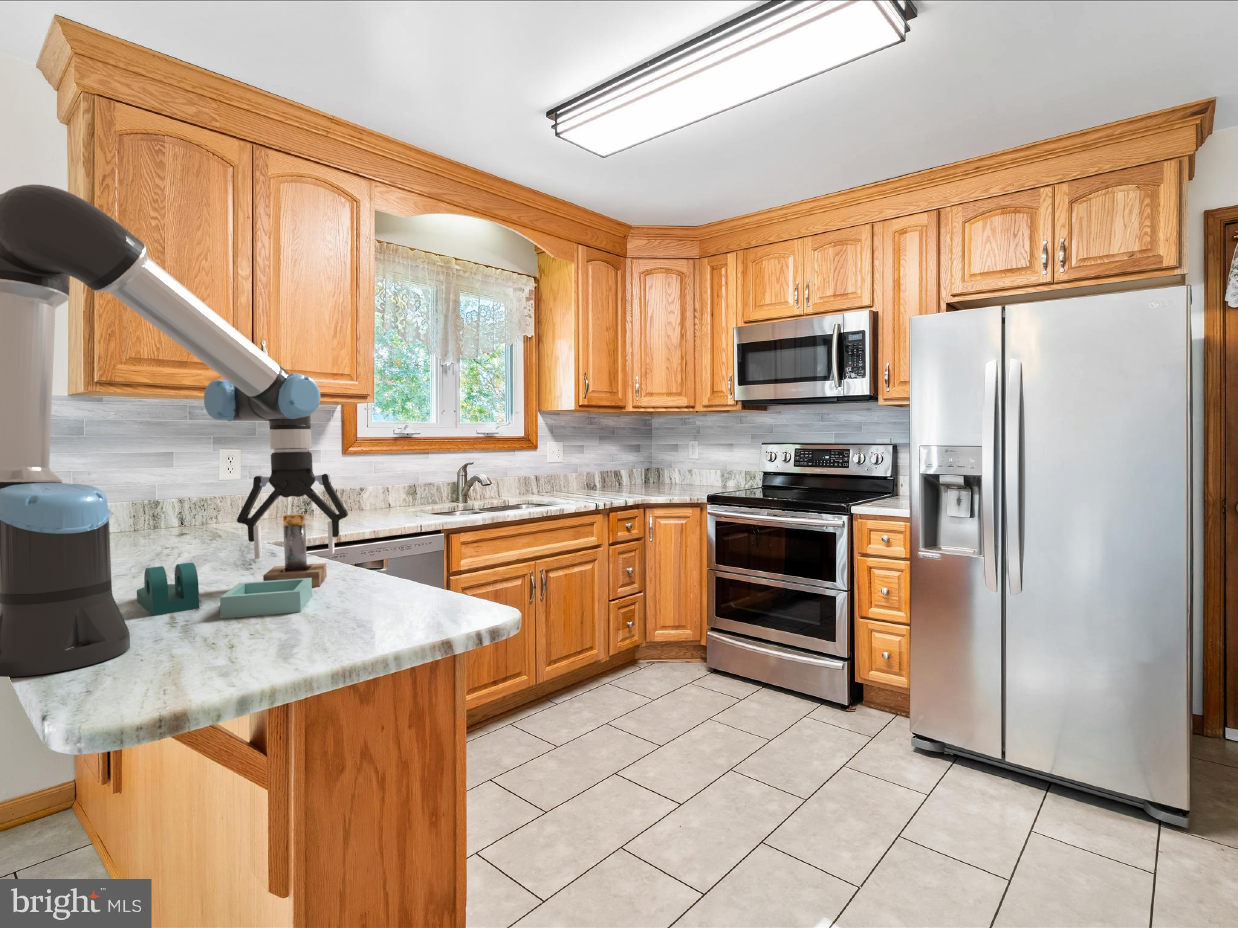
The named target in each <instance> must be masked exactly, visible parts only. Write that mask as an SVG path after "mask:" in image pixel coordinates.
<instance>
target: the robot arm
mask: <svg viewBox="0 0 1238 928" xmlns="http://www.w3.org/2000/svg"><path fill="white" fill-rule="evenodd" d="M146 245H147V244H145V243H143V242H142V241H141V240H140V239H139V238H138V237H137V236H135V235H134V234H132V233H131V232H130V231H129V230H128V229H127V228H126V227H124V226H123V225H122V224H121V223H119V222H118V221H117V220H115V219H114V218H113V217H111V216H110V215H108V214H107V213H105V212H104V211H103V210H101V209H100V208H98V207H97V206H95V205H94V204H91V203H90V202H89V201H86V200H85V199H83V198H81V197H79V196H77V195H75V194H74V193H72V192H69V191H67V190H64V189H62V188H58V187H54V186H52V185H46V184H24V185H19V186H16V187H13V188H11V189H8V190H6V191H5V192H3V193H0V677H3V678H4V677H5V678H6V677H7V678H13V677H16V678H17V677H27V676H37V675H39V676H40V675H45V674H52V673H57V672H58V673H59V672H63V671H64V672H65V671H69V670H73V669H77V668H78V669H79V668H81V667H87V666H90V665H94V664H97V663H101V662H104V661H107V660H110V659H113V658H116V657H118V656H121V655H122V654H124V653H126V652H127V651H128V650H130V649H131V635H130V629H129V627H128V625H127V624H126V621H125V619H124V617H123V614H122V612H121V611H120V608H119V606H118V604H117V602H116V600H115V598H114V596H113V595H114V594H113V587H112V585H113V584H112V564H111V563H112V562H111V557H112V556H111V538H110V537H111V534H110V518H111V514H110V513H111V511H110V508H109V506H108V500H107V495H106V493H105V492H104V490H102V489H100V488H99V487H97V486H93V485H88V484H81V483H65V482H63V479H62V478H61V477H59V476H58V475H57V474H56V473H54V471H52V470H51V468H50V461H51V460H50V455H51V454H50V453H51V431H52V429H51V428H52V427H51V426H52V407H53V406H52V404H53V401H52V399H53V379H54V377H53V376H54V375H53V374H54V352H55V328H56V327H55V326H56V310H57V308H58V307H61V305H63V304H65V303H67V302H68V301H69V300H70V299H69V298H70V286H71V285H70V280H71V279H70V278H71V277H72V278H74V279H76V280H78V281H79V282H81V283H82V284H84V285H85V286H87V287H88V288H90V289H91V290H92V291H94V292H96V293H109V294H110V295H111V296H113V297H114V298H116V299H117V300H118V301H119V302H120V303H122V304H124V305H125V306H126V307H127V308H129V309H130V310H132V311H133V312H134V313H136V314H137V315H138V316H139V317H141V318H142V319H143V320H145V321H147V322H148V323H149V324H151V325H152V326H153V327H155V328H156V329H157V330H159V331H160V332H161V333H162V334H164V335H165V336H167V337H168V338H169V339H171V340H172V341H174V342H175V343H176V344H177V345H179V346H180V347H182V348H183V349H184V350H185V351H187V352H188V353H190V354H191V355H192V356H193V357H195V358H196V359H198V360H199V361H200V362H201V363H202V364H205V365H206V366H207V367H209V368H210V369H211V370H213V371H214V372H215V373H216V374H218V375H219V376H220V377H222V378H223V379H213V380H212V381H211V382H209V383H208V385H207V386H206V388H205V389H204V390H205V391H204V394H203V404H204V409H205V411H206V413H207V414H208V416H209V417H210V418H212V419H213V420H216V421H227V422H232V421H233V422H236V421H238V422H239V421H240V422H241V421H242V422H245V421H246V422H255V421H256V422H262V421H264V422H269V424H268V425H269V443H270V445H269V448H270V450H273V452H271V454H270V466H271V467H270V468H271V469H270V471H271V472H270V476H262V475H255V476H254V477H253V481H252V483H253V484H252V489H251V490H250V493H249V495H248V496H247V498H246V500H245V502H244V504H243V506H242V508H241V510H240V512H239V515H238V516H237V517H236V522H237V523H238V524H242V525H246V526H247V539H248V542H249V543H253V547H254V559H255V560H257V559H258V560H259V559H261V558H262V557H263V545H262V541H263V540H262V525H261V524H258V522H259V521H260V520H261V518H262V517H263V516H264V515H265V513H266V512H267V511H268V510H269V509H270V508H271V507H272V505H273V504H274V503H275V502H276V501H277V500H278V499H279V498H280V497H282V498H291V497H296V498H301V497H304V496H306V497H307V498H308V499H310V500H311V501H312V502H313V503H314V504H315V506H316V507H318V508H319V509H320V510H321V511H322V513H324V514H325V516H327V517H328V518H329V519H330V521H329V520H328V522H327V541H328V543H327V544H328V555H333V554H335V538H338V537H339V535H340V520H343V519H345V518H347V517H348V516H349V512H348V510H347V508H346V507H345V505H344V503H343V501H342V500H341V498H340V497H339V495H338V493H337V491H336V490H335V488H334V486H333V484H332V482H331V477H330V474H329V473H324V474H318V475H315V474H314V470H313V453H312V451H310V450H309V449H312V447H313V444H312V443H313V442H312V427H311V425H312V424H311V423H312V422H311V419H312V418H311V416H312V415H313V414H314V413H315V412H316V411H317V410H318V408H319V406H320V404H321V390H320V388H319V386H318V383H316V382H315V381H314V380H313V379H312V378H311V377H309V376H306V375H304V374H301V373H290V372H288V371H287V370H286V369H285V368H284V367H283V366H281V365H280V364H278V363H277V362H276V361H275V360H274V359H272V358H271V357H270V356H269V355H268V354H266V353H265V352H264V351H263V350H261V349H260V347H258V346H257V345H255V344H254V343H253V341H252V340H250V339H248V338H247V337H246V336H244V335H243V333H241V332H240V331H239V330H237V329H236V328H235V327H234V326H233V325H231V324H230V323H229V322H228V321H227V320H226V319H225V318H223V317H222V316H221V315H220V314H218V313H217V312H216V311H215V310H213V309H212V307H210V306H208V304H207V303H205V302H204V301H202V300H201V299H200V298H199V297H198V296H196V295H195V294H194V293H193V292H191V291H190V289H188V288H187V287H185V286H184V285H183V284H182V283H181V282H180V281H178V280H177V279H176V278H175V277H173V276H172V275H171V274H170V273H169V272H167V271H166V270H165V269H163V268H162V267H161V266H160V265H159V264H157V262H156V261H154V260H153V259H152V258H150V257H149V256H148V252H147V246H146ZM315 482H318V484H319V485H320V486H323V489H324V490H325V492H326V494H327V496H328V497H329V499H330V500H331V502H332V503H333V505H334V507H335V509H336V510H337V512H338V513H337V512H335V510H333V509H332V508H331V507H330V506H329V505H328V504H327V502H325V500H323V499H322V498H321V497H320V496H319V495H318V493H317V492H316V491H315V490H314V489H313V488H312V486H313V485H314V484H315ZM268 483H269V484H270V486H272V488H273V489H274V490H273V491H272V492H271V493H270V494H269V495H268V497H267V498H266V499H265V501H264V502H263V503H262V504H261V505H260V506H259V507H258V509H256V511H255V512H254V513H253V515H252V516H251V517H249V515H250V513H251V511H252V510H253V508H254V505H255V503H256V501H257V500H258V497H259V495H260V494H261V492H262V490H263V488H264V487H266V486H267V484H268Z"/></svg>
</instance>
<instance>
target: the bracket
mask: <svg viewBox="0 0 1238 928" xmlns="http://www.w3.org/2000/svg"><path fill="white" fill-rule="evenodd" d="M196 567H197V566H196V565H195V563H194V562H185V563H177V564H176V565H175V568H174V583H168V578H167V573H166V569H165V567H164V566H163V565H161V566H160V565H159V566H153V567H146V568H145V569H144V577H143V579H144V580H143V581H144V582H143V584H144V585H143V586H144V587H141V588H137V590H136V602H137V603H138V605H140V606H142V608H144V609H145V611H147V612H148V613H149V614H150V615H151V616H153V617H155V616H160V615H161V616H162V615H168V614H173V613H179V612H185V611H191V610H197V609H200V593H199V592H200V589H199V588H200V587H199V575H198V571H197V570H198V569H197V568H196Z"/></svg>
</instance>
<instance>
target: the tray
mask: <svg viewBox="0 0 1238 928" xmlns="http://www.w3.org/2000/svg"><path fill="white" fill-rule="evenodd" d="M312 598H313V587H312V578H301V579H287V580H273V581H263V580H262V581H261V580H260V581H259V580H258V581H248V582H247V581H246V582H238V583H237V584H235V586H233V587H232V588H230V589H229V590H228V591H226V592H225V593H224V594H222V595H221V596H220V597H219V604H220V605H219V606H220V607H219V608H220V619H232V618H243V617H245V618H246V617H256V616H268V615H281V614H292V613H301V612H302V611H303V610H304V608H305V607H306V606H307V604H308V603H309V602H310V600H311V599H312Z"/></svg>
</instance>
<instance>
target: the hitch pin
mask: <svg viewBox="0 0 1238 928" xmlns="http://www.w3.org/2000/svg"><path fill="white" fill-rule="evenodd" d="M282 521H283V523H282V524H283V526H282V527H283V545H284V546H283V548H284V550H283V552H284V566H285V572H291V571H305V570H307V564H308V562H307V560H308V559H307V540H306V539H307V536H306V534H307V532H306V514H305V513H294V514H293V513H292V514H284V515H282Z"/></svg>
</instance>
